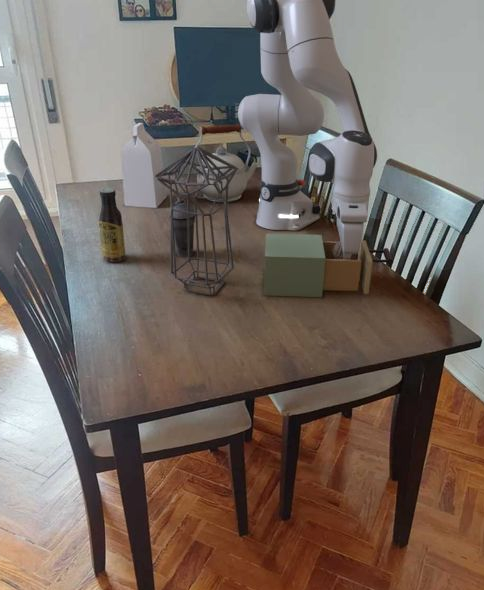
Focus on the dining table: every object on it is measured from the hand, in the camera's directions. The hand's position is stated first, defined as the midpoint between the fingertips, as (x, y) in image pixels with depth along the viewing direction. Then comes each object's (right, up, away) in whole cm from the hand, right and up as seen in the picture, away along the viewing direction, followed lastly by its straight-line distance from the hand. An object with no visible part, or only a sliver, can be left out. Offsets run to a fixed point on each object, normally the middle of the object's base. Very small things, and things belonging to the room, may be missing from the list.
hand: (344, 255), depth 141 cm
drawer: (+2, -6, +4) cm, 8 cm away
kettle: (-35, +33, +63) cm, 79 cm away
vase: (0, -3, +2) cm, 4 cm away
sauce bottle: (-63, +1, +15) cm, 65 cm away
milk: (-64, +29, +56) cm, 90 cm away
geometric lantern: (-37, -8, +2) cm, 37 cm away
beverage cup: (-44, +4, +19) cm, 48 cm away
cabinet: (-13, -6, +5) cm, 15 cm away
